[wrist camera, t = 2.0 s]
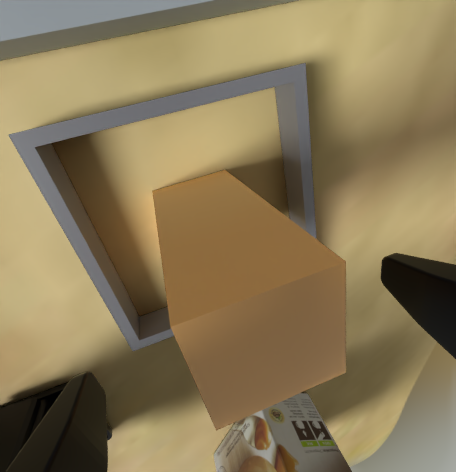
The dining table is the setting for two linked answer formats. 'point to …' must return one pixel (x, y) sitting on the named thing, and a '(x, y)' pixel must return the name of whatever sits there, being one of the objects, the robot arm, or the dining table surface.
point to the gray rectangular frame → (100, 20)
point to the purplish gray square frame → (52, 171)
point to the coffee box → (281, 441)
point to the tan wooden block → (248, 296)
